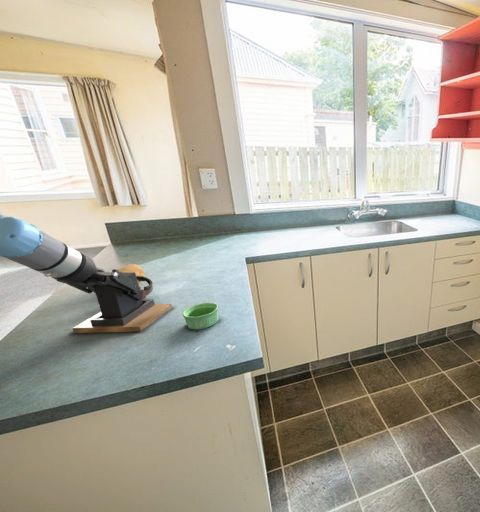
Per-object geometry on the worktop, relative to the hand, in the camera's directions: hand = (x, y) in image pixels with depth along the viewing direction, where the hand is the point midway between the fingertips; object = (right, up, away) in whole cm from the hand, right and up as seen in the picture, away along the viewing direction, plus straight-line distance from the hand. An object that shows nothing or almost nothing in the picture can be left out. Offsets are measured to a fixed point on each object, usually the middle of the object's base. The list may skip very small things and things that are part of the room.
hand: (130, 296), depth 91 cm
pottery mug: (-10, -2, +12) cm, 16 cm away
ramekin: (+24, -8, -3) cm, 26 cm away
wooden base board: (0, -7, -2) cm, 7 cm away
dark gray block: (0, -4, -2) cm, 5 cm away
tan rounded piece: (-18, +1, +21) cm, 28 cm away
